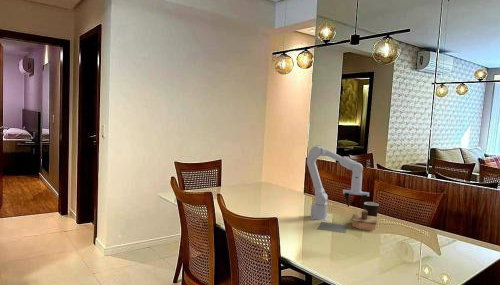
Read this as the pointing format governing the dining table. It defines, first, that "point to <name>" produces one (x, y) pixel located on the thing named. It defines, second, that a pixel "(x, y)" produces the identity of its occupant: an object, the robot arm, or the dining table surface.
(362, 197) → the robot arm
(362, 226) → the bowl
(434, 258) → the dining table surface
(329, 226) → the mat
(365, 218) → the lid
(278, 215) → the dining table surface
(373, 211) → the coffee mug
